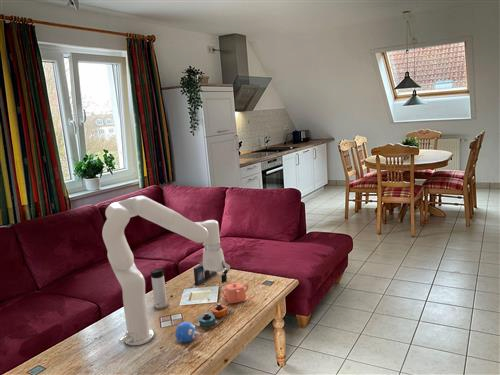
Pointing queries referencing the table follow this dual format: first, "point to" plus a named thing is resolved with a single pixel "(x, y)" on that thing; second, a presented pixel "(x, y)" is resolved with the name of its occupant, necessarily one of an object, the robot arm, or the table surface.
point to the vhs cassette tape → (201, 275)
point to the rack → (215, 316)
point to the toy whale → (186, 332)
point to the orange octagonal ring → (220, 312)
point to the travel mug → (159, 289)
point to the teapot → (235, 292)
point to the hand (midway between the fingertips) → (215, 280)
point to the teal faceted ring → (207, 322)
